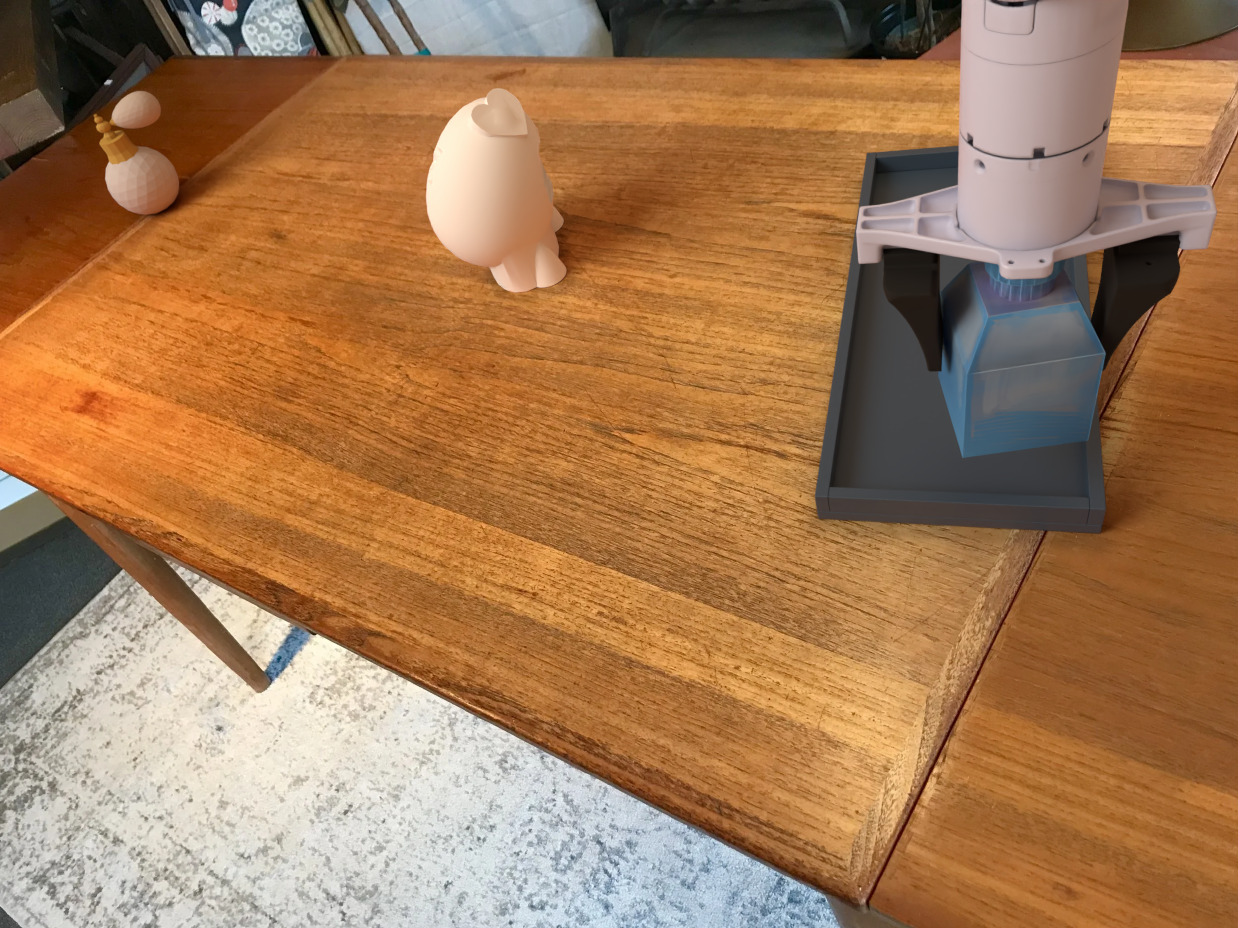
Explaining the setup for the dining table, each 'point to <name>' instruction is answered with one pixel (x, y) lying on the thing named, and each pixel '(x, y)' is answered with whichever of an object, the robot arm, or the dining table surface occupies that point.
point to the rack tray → (933, 407)
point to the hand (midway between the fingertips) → (1012, 357)
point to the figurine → (496, 194)
